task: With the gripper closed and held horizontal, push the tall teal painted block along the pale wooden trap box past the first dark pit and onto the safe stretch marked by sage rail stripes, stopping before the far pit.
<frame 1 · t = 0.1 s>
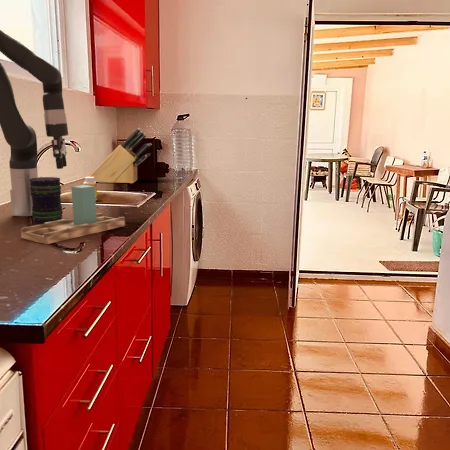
hand: (61, 167, 171), 17 cm above the counter, tool pointing down, fingers open, 8 cm apart
trap box: (76, 231, 146), on the counter
teal block: (85, 223, 148), point 2 cm above the counter, touching trap box
supplement bottle: (90, 200, 205), on the counter
knife block: (121, 182, 267), on the counter
navy cylinder: (48, 222, 160), on the counter
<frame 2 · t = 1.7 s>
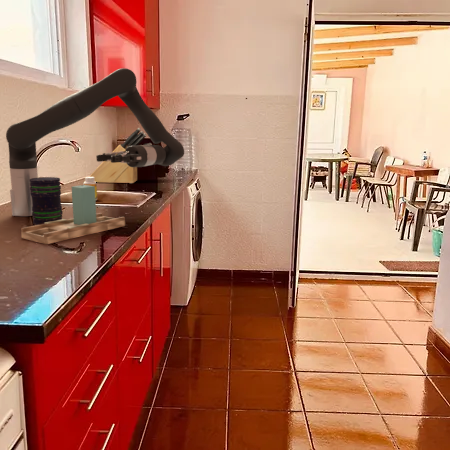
hand: (104, 158, 151), 22 cm above the counter, tool horizontal, fingers open, 6 cm apart
nothing on the counter moved.
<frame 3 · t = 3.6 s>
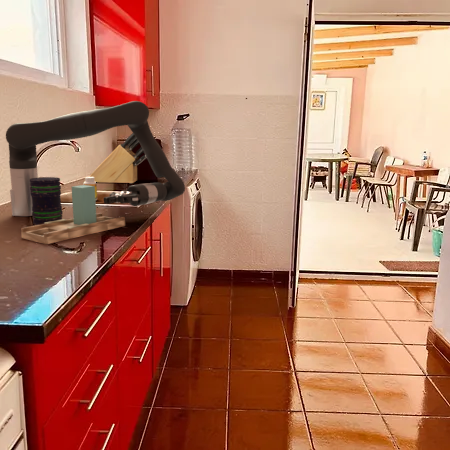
hand: (105, 200, 154), 8 cm above the counter, tool horizontal, fingers closed
nothing on the counter moved.
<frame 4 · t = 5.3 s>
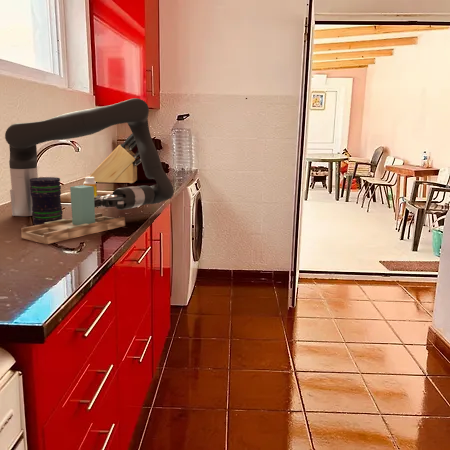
hand: (89, 204, 149), 8 cm above the counter, tool horizontal, fingers closed
teal block: (84, 223, 148), point 2 cm above the counter, touching gripper, trap box
everything else where it was.
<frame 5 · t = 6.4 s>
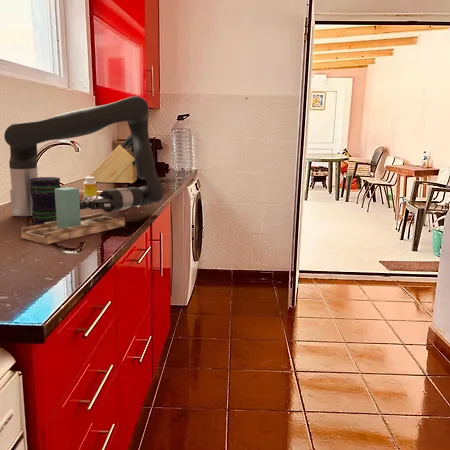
hand: (74, 206, 144), 8 cm above the counter, tool horizontal, fingers closed
teal block: (69, 226, 143), point 2 cm above the counter, touching gripper, trap box
everything else where it was.
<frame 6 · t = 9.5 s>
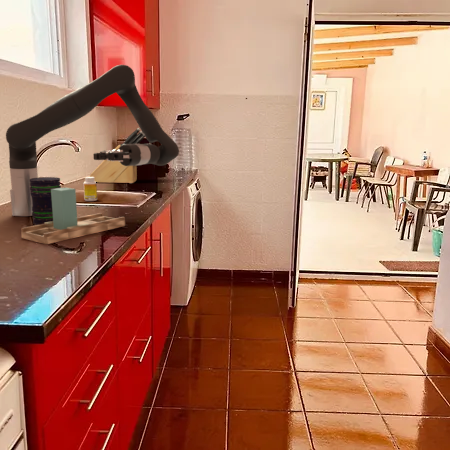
hand: (95, 156, 148), 23 cm above the counter, tool horizontal, fingers closed
teal block: (65, 227, 142), point 2 cm above the counter, touching trap box
everything else where it was.
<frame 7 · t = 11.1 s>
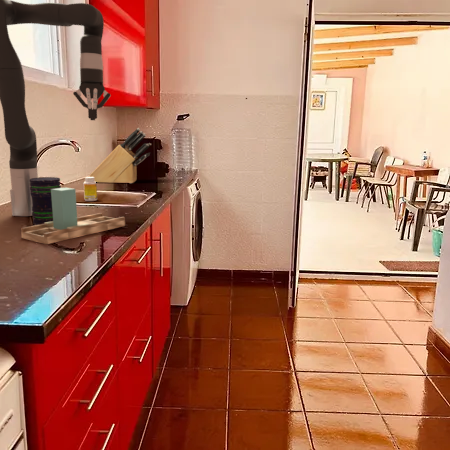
hand: (93, 120, 162), 34 cm above the counter, tool pointing down, fingers closed
nothing on the counter moved.
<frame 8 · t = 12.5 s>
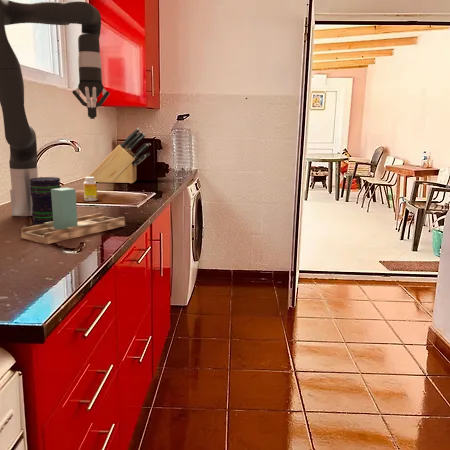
hand: (92, 118, 162), 35 cm above the counter, tool pointing down, fingers closed
nothing on the counter moved.
at the end: teal block 0.4 cm from the target spot on the trap box, point 2.0 cm above the trap box's base; teal block tilted 0°; the gripper is holding nothing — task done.
